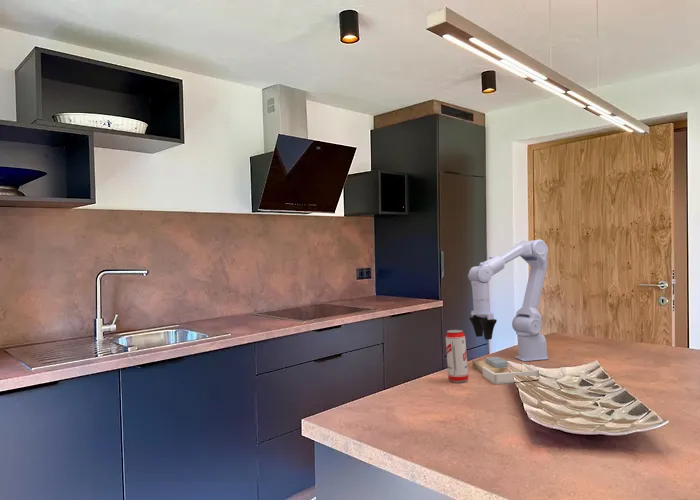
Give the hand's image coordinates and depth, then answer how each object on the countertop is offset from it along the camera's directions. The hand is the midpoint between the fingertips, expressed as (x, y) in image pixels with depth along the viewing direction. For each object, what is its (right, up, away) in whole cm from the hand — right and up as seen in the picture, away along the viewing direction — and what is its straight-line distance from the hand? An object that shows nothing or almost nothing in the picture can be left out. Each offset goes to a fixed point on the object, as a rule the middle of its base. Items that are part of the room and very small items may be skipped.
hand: (483, 337), depth 174 cm
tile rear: (+2, -8, -5) cm, 10 cm away
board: (+3, -10, -7) cm, 12 cm away
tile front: (+3, -8, -10) cm, 13 cm away
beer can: (-13, -11, -18) cm, 24 cm away
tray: (+3, -9, -19) cm, 22 cm away
